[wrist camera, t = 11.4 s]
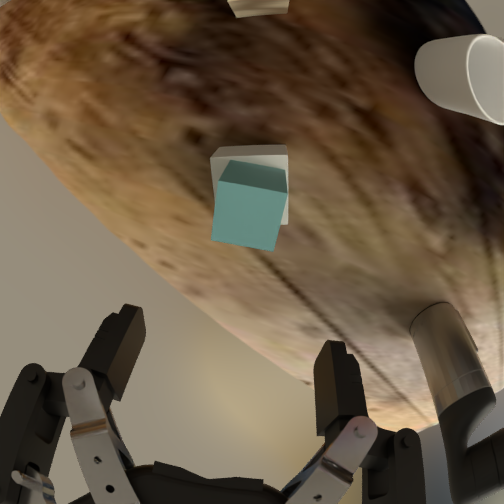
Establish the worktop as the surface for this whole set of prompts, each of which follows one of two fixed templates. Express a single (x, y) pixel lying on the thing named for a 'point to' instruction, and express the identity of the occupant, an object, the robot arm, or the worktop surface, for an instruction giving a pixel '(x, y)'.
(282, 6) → the beech block
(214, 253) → the worktop surface
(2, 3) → the planter box
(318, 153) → the worktop surface
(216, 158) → the pedestal block
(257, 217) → the teal cube
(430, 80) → the mug
